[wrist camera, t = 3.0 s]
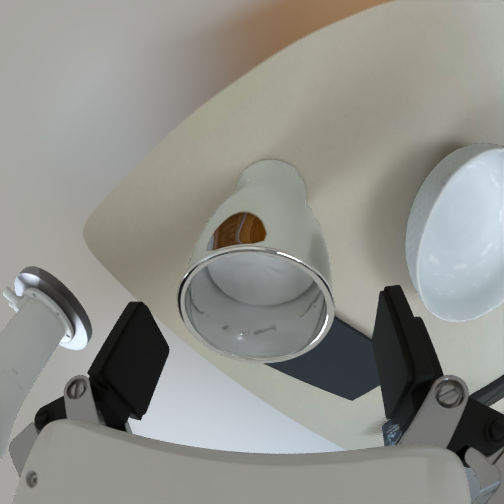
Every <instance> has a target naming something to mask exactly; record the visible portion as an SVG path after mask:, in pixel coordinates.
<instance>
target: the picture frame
mask: <svg viewBox="0 0 504 504" xmlns="http://www.w3.org/2000/svg"><path fill="white" fill-rule="evenodd" d="M470 397H471V398H473V399H474V400H476V401H478V402H480V403H482V404H484V405H486V406H488V407H489V406H491V405H492V404H494V403H496V402H497V401H499V400H500V399H502V398H503V397H504V375H503V376H501V377H500V378H498V379H497V380H495V381H494V382H492V383H490V384H489V385H487V386H485V387H484V388H482V389H480V390H479V391H477V392H475V393H473V394H472V395H470Z"/></svg>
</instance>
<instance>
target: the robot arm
mask: <svg viewBox="0 0 504 504" xmlns="http://www.w3.org/2000/svg"><path fill="white" fill-rule="evenodd" d="M3 295H4V296H5V297H6V298H7V299H8V300H9V301H10V302H9V306H10V307H12V308H13V309H14V310H15V312H16V314H15V315H14V316H13V318H12V319H11V320H10V321H9V323H8V324H7V325H6V326H5V328H4V329H3V330H2V332H1V333H0V461H1V460H2V459H3V458H4V455H5V453H6V449H7V446H8V441H9V437H10V434H11V430H12V427H13V424H14V421H15V419H16V416H17V414H18V412H19V410H20V408H21V406H22V404H23V402H24V400H25V398H26V397H27V395H28V393H29V391H30V390H31V388H32V386H33V385H34V383H35V381H36V379H37V378H38V376H39V374H40V373H41V371H42V369H43V368H44V366H45V365H46V363H47V361H48V360H49V358H50V357H51V355H52V353H53V352H54V350H55V349H56V347H57V346H58V344H59V343H60V342H61V343H69V342H70V341H71V340H72V338H73V336H74V329H73V326H72V324H71V321H70V320H69V318H68V316H67V315H66V314H65V312H64V311H63V310H62V308H61V307H60V306H59V305H58V304H57V303H56V302H55V301H54V300H53V299H52V298H51V297H50V296H48V295H47V294H46V293H44V292H43V291H41V290H39V289H37V288H33V287H29V288H27V289H26V290H25V291H24V292H23V293H22V297H21V296H17V295H16V294H15V293H14V292H13V291H12V290H11V289H10V288H9V287H6V288H5V289H4V291H3ZM372 346H373V351H374V356H375V360H376V365H377V370H378V375H379V380H380V386H381V391H382V397H383V403H384V409H385V415H386V418H387V419H391V425H396V424H399V430H400V431H401V432H402V433H401V434H400V436H399V437H398V439H397V440H396V442H395V443H394V445H392V446H383V447H375V448H366V449H358V450H349V451H340V452H339V451H338V452H325V453H306V454H262V453H244V452H243V453H242V452H232V451H221V450H213V449H212V450H211V449H205V448H198V447H191V446H185V445H180V444H174V443H169V442H164V441H160V440H155V439H151V438H146V437H142V436H138V435H135V434H132V431H131V428H130V426H129V423H128V418H129V417H130V418H133V419H136V420H141V419H142V416H143V415H144V414H145V413H146V411H147V409H148V406H149V404H150V401H151V398H152V396H153V393H154V390H155V388H156V385H157V383H158V380H159V377H160V375H161V372H162V370H163V367H164V365H165V362H166V359H167V357H168V354H169V346H168V344H167V342H166V340H165V338H164V337H163V335H162V333H161V331H160V329H159V328H158V326H157V324H156V322H155V320H154V318H153V316H152V314H151V312H150V310H149V308H148V307H147V306H146V305H145V304H144V303H143V302H129V303H128V305H127V306H126V308H125V309H124V311H123V313H122V314H121V316H120V317H119V319H118V321H117V322H116V324H115V326H114V327H113V329H112V330H111V332H110V334H109V336H108V337H107V339H106V341H105V343H104V344H103V346H102V348H101V349H100V351H99V353H98V354H97V356H96V358H95V360H94V362H93V363H92V365H91V367H90V369H89V370H88V374H89V375H90V377H89V379H88V378H87V377H86V376H84V375H78V376H75V377H73V378H71V379H70V380H69V381H68V383H67V384H66V386H65V389H64V396H62V397H60V398H59V399H57V400H55V401H53V402H51V403H49V404H47V405H45V406H43V407H42V408H40V409H39V411H38V412H37V414H36V415H35V423H33V422H31V423H30V424H29V425H28V426H27V427H26V428H25V429H24V430H23V431H22V432H21V433H20V434H18V435H17V436H16V437H15V438H14V439H13V441H12V442H11V444H10V447H9V451H10V455H11V458H12V460H13V463H14V465H15V467H16V470H17V472H18V474H19V476H20V480H19V483H18V486H17V489H16V493H15V496H14V500H13V504H471V496H470V489H469V484H468V479H467V475H466V472H465V469H464V467H467V468H470V467H471V468H472V469H473V471H474V472H475V473H476V474H475V477H476V478H477V479H478V481H479V483H480V492H479V495H478V497H477V498H476V500H475V501H474V502H473V503H472V504H504V414H502V413H500V412H498V411H496V410H494V409H492V408H490V407H488V406H486V405H484V404H482V403H480V402H478V401H476V400H474V399H473V398H471V397H469V392H468V388H467V385H466V383H465V382H464V381H463V380H462V379H461V378H459V377H457V376H454V375H445V376H444V374H443V371H442V369H441V366H440V363H439V360H438V357H437V355H436V352H435V349H434V347H433V344H432V342H431V339H430V337H429V334H428V332H427V329H426V327H425V324H424V322H423V320H422V318H420V317H414V316H413V313H412V311H411V308H410V306H409V304H408V301H407V299H406V297H405V295H404V292H403V290H402V288H401V286H400V285H394V286H386V287H385V288H384V291H380V294H379V301H378V308H377V314H376V320H375V326H374V332H373V337H372Z"/></svg>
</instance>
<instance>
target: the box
mask: <svg viewBox="0 0 504 504" xmlns="http://www.w3.org/2000/svg"><path fill="white" fill-rule="evenodd" d="M382 429H383V437H384V446H392V445H394V443H395V442H396V440H397V439H398V437H399V436H400V434H401V433H402V432H401V431H400V430H399V424H396V425H391V420H390V421H389V422H387V423H386V424H385V425H383V426H382Z"/></svg>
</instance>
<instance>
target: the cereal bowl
mask: <svg viewBox="0 0 504 504" xmlns="http://www.w3.org/2000/svg"><path fill="white" fill-rule="evenodd" d="M405 238H406V239H405V243H406V244H405V249H406V259H407V265H408V271H409V273H410V277H411V279H412V283H413V285H414V287H415V289H416V292H417V293H418V295H419V298H420V299H421V300H422V302H423V304H424V305H425V306H426V308H427V309H428V310H429V311H430V312H431V313H432V314H433V315H435V316H437V317H438V318H440V319H443V320H446V321H450V322H463V321H469V320H473V319H475V318H478V317H481V316H483V315H485V314H487V313H488V312H490V311H492V310H493V309H495V308H496V307H498V306H499V305H500V304H501V303H503V302H504V146H500V145H495V144H490V143H487V144H486V143H481V144H473V145H467V146H465V147H461V148H459V149H457V150H455V151H453V152H452V153H451V154H449V155H447V156H446V157H445V158H444V159H442V160H441V161H440V162H439V163H438V164H437V165H436V166H435V167H434V168H433V169H432V171H431V172H430V173H429V175H428V176H427V178H426V179H425V180H424V182H423V184H422V186H421V187H420V189H419V191H418V193H417V195H416V197H415V200H414V202H413V205H412V207H411V211H410V213H409V218H408V223H407V228H406V237H405Z"/></svg>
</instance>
